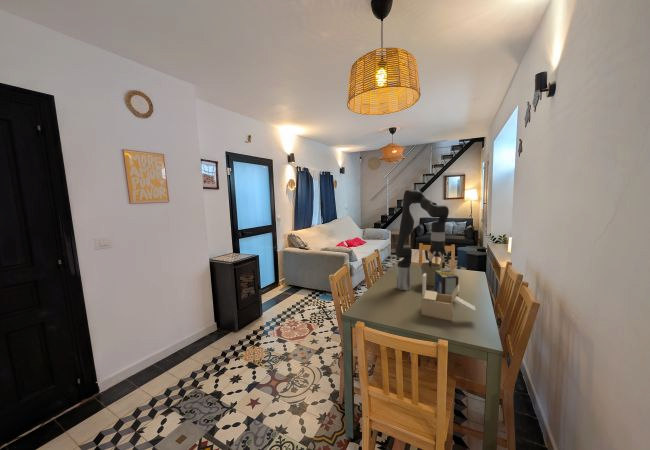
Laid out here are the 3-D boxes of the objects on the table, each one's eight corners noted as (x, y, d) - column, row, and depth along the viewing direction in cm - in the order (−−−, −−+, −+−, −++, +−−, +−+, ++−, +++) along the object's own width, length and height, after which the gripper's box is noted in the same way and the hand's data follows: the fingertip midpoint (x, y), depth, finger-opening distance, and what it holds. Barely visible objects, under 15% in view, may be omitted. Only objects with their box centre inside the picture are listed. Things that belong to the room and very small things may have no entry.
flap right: (458, 291, 137) (482, 304, 133) (458, 283, 149) (480, 295, 144) (451, 302, 140) (474, 315, 135) (451, 293, 151) (473, 305, 147)
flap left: (421, 298, 147) (421, 277, 146) (424, 290, 159) (424, 271, 158) (435, 301, 143) (436, 279, 142) (437, 292, 155) (438, 273, 154)
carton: (421, 315, 148) (421, 299, 147) (424, 305, 160) (424, 291, 159) (451, 320, 140) (452, 304, 139) (452, 310, 152) (453, 295, 151)
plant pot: (434, 280, 207) (435, 262, 205) (444, 287, 192) (444, 267, 190) (416, 281, 206) (417, 262, 204) (425, 288, 191) (425, 267, 190)
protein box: (449, 290, 185) (449, 270, 183) (458, 299, 169) (458, 277, 168) (434, 290, 186) (434, 270, 184) (441, 299, 170) (442, 276, 169)
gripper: (423, 239, 146) (423, 268, 148) (451, 241, 139) (450, 271, 141) (425, 237, 152) (424, 265, 154) (451, 239, 146) (450, 267, 148)
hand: (436, 267), depth 148 cm, fingers open, 5 cm apart
